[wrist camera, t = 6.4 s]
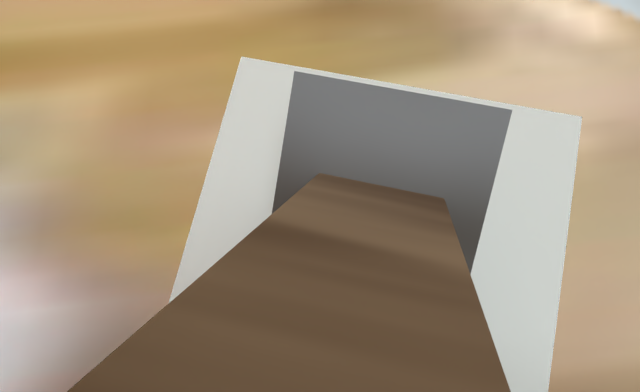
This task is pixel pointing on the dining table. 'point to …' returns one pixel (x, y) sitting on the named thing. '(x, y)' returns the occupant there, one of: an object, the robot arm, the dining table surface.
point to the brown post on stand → (343, 261)
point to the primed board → (497, 232)
